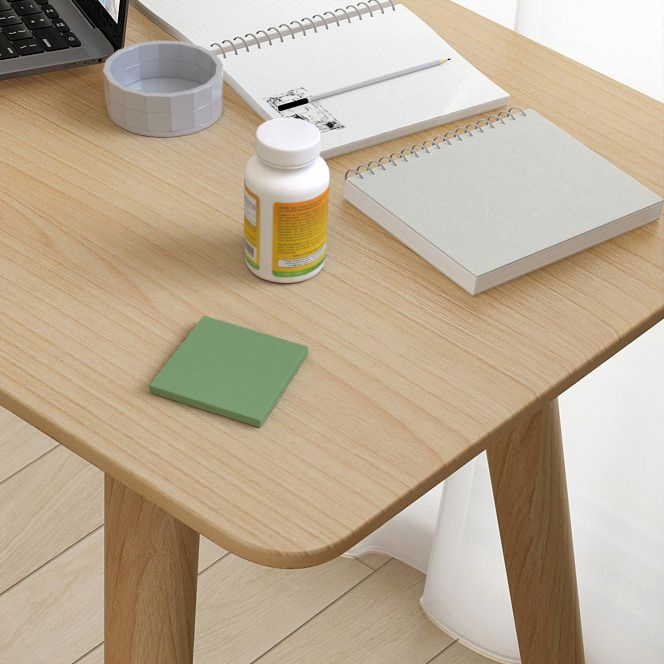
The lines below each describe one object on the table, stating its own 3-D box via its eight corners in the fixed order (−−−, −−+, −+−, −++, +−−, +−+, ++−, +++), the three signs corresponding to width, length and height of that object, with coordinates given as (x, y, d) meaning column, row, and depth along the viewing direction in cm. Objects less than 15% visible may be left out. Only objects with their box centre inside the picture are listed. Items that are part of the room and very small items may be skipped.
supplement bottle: (339, 252, 80) (347, 125, 74) (301, 295, 77) (306, 165, 70) (269, 228, 82) (271, 102, 76) (228, 269, 78) (227, 140, 72)
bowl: (85, 120, 92) (81, 79, 90) (142, 71, 98) (139, 31, 96) (190, 148, 90) (189, 106, 87) (241, 95, 96) (241, 55, 94)
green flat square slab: (149, 392, 69) (148, 385, 69) (203, 322, 74) (203, 315, 74) (260, 428, 67) (260, 420, 67) (308, 353, 72) (308, 346, 72)
